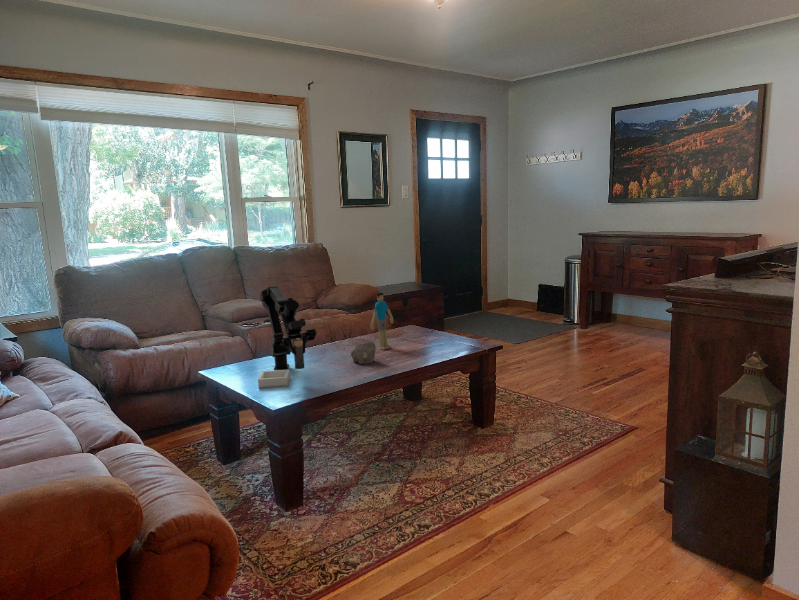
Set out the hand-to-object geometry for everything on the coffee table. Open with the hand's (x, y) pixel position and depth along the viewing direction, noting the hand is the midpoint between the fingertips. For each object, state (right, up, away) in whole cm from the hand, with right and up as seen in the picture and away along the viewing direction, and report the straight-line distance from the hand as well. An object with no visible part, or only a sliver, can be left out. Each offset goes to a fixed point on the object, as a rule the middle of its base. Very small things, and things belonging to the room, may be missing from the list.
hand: (299, 353), depth 230 cm
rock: (+26, -8, +32) cm, 42 cm away
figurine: (+34, -3, +57) cm, 66 cm away
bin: (-12, -13, +5) cm, 18 cm away
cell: (0, -6, +2) cm, 7 cm away
